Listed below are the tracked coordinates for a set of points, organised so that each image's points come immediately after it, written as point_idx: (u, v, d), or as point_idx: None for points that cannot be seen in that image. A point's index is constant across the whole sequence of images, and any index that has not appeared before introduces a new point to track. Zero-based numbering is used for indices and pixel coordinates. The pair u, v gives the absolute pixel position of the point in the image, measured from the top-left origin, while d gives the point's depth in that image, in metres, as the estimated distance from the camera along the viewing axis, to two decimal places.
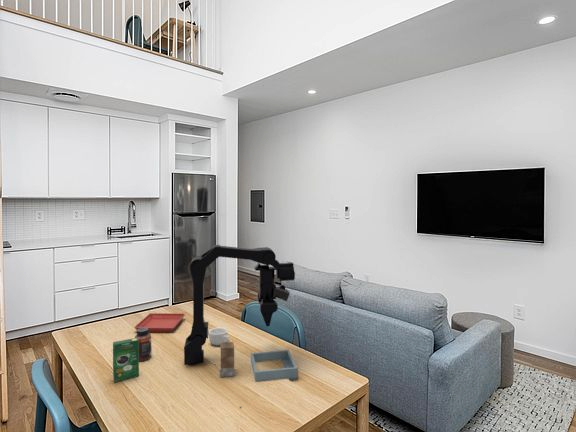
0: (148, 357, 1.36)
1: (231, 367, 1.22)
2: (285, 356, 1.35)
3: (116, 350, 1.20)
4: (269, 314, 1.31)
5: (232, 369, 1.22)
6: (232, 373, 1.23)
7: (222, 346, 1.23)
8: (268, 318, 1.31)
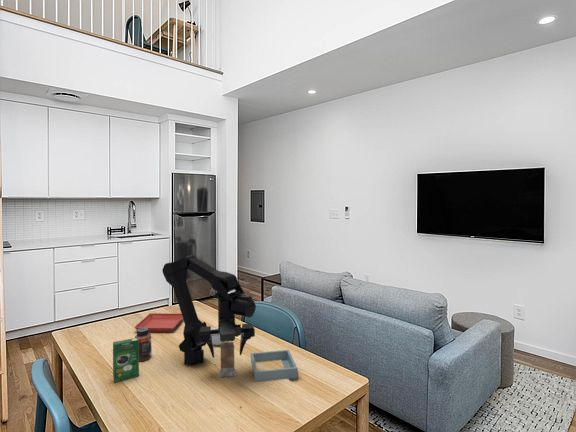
0: (148, 357, 1.36)
1: (231, 367, 1.22)
2: (285, 356, 1.35)
3: (116, 350, 1.20)
4: None
5: (232, 369, 1.22)
6: (232, 373, 1.23)
7: (222, 346, 1.23)
8: None
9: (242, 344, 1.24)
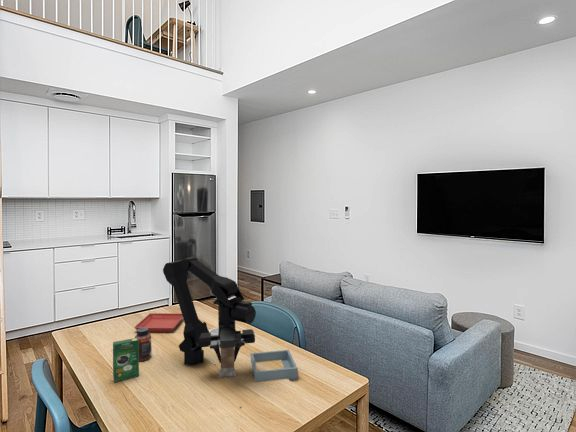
0: (148, 357, 1.36)
1: (231, 367, 1.22)
2: (285, 356, 1.35)
3: (116, 350, 1.20)
4: None
5: (232, 369, 1.22)
6: (232, 373, 1.23)
7: None
8: None
9: (236, 351, 1.23)
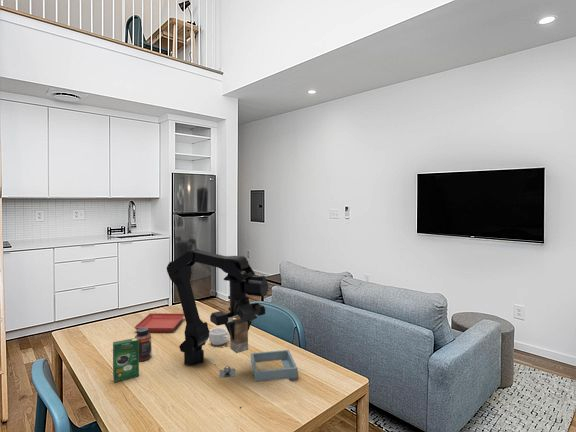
0: (148, 357, 1.36)
1: (245, 342, 1.23)
2: (285, 356, 1.35)
3: (116, 350, 1.20)
4: None
5: (246, 343, 1.23)
6: (246, 347, 1.23)
7: (235, 322, 1.22)
8: (229, 331, 1.22)
9: (248, 325, 1.25)
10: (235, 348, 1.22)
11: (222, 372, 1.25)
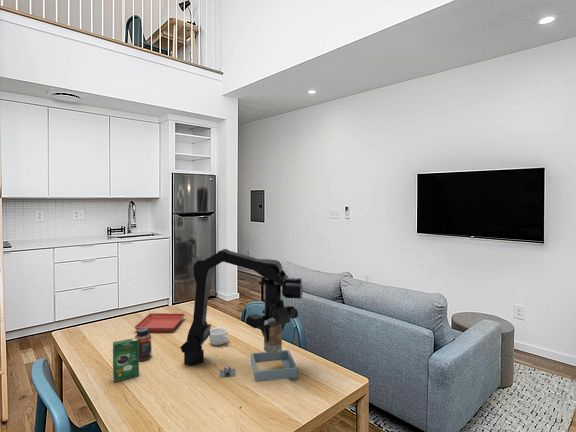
0: (148, 357, 1.36)
1: (279, 344, 1.26)
2: (285, 356, 1.35)
3: (116, 350, 1.20)
4: None
5: (280, 345, 1.26)
6: (280, 349, 1.26)
7: None
8: (264, 333, 1.25)
9: (282, 327, 1.27)
10: (270, 350, 1.25)
11: (222, 372, 1.25)
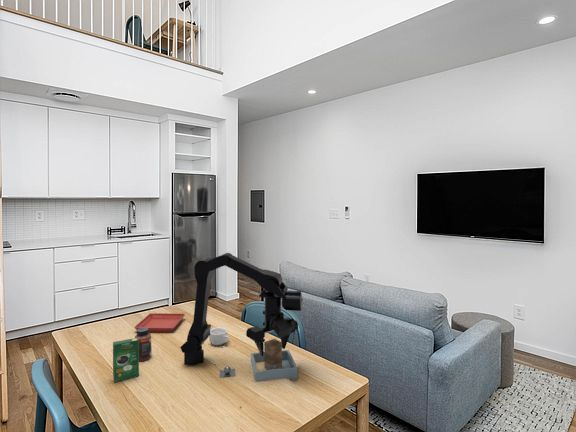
0: (148, 357, 1.36)
1: (279, 362, 1.26)
2: (285, 356, 1.35)
3: (116, 350, 1.20)
4: None
5: (280, 364, 1.27)
6: (280, 368, 1.27)
7: (270, 344, 1.25)
8: (259, 347, 1.24)
9: (287, 338, 1.29)
10: (270, 369, 1.25)
11: (222, 372, 1.25)
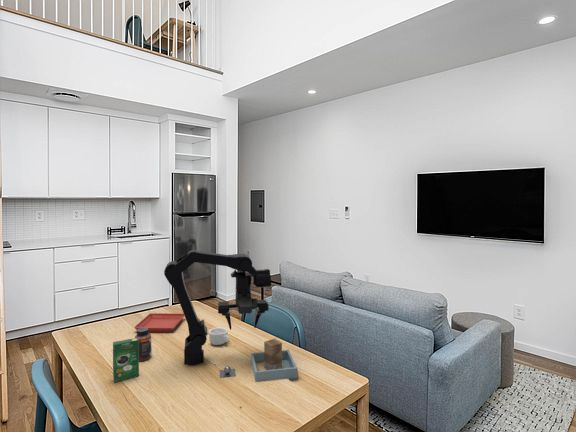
0: (148, 357, 1.36)
1: (279, 362, 1.26)
2: (285, 356, 1.35)
3: (116, 350, 1.20)
4: None
5: (280, 364, 1.27)
6: (280, 368, 1.27)
7: (270, 344, 1.25)
8: None
9: (257, 318, 1.36)
10: (270, 369, 1.25)
11: (222, 372, 1.25)
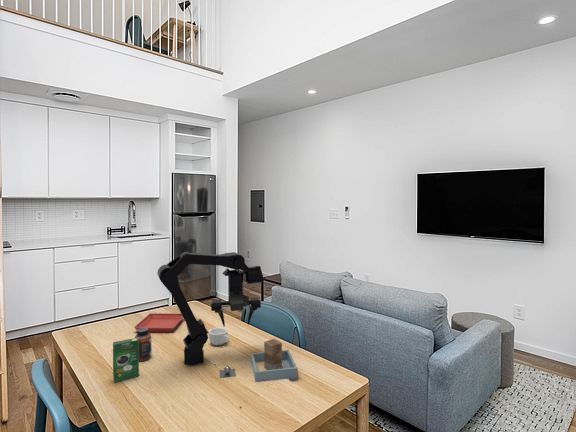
0: (148, 357, 1.36)
1: (279, 362, 1.26)
2: (285, 356, 1.35)
3: (116, 350, 1.20)
4: None
5: (280, 364, 1.27)
6: (280, 368, 1.27)
7: (270, 344, 1.25)
8: (221, 318, 1.38)
9: (249, 315, 1.39)
10: (270, 369, 1.25)
11: (222, 372, 1.25)
